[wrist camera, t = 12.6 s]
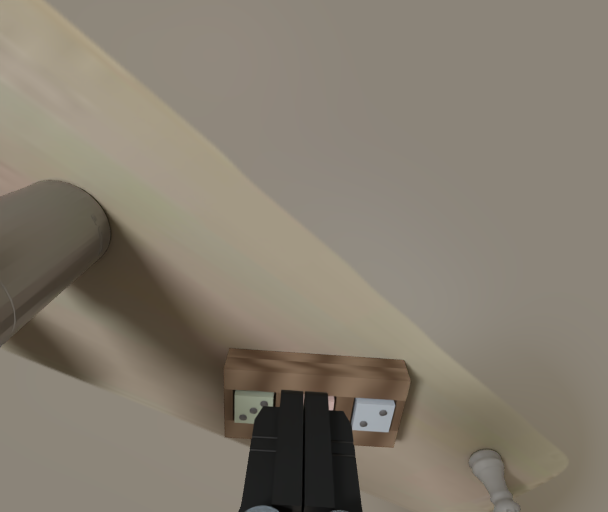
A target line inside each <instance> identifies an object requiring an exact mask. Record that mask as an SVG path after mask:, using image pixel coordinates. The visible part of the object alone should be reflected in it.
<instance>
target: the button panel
mask: <svg viewBox="0 0 608 512" xmlns="http://www.w3.org/2000/svg"><path fill="white" fill-rule="evenodd" d="M410 383H411V380H410V377H409V374H408V371H407V368H406V365H405V362H404V360H395V359H380V358H365V357H350V356H336V355H321V354H306V353H291V352H277V351H262V350H247V349H232V348H229V352H228V355H227V359H226V362H225V366H224V418H225V437H229V438H245V439H252V433H253V426H254V424H249V423H235V391H236V390H246V391H261V392H274V406H273V407H280V398H281V390H296V391H303V394H305V391H313V392H327V393H328V396H334V408H333V410H335V411H344V413H345V415H346V416H347V418H348V420H349V422H350V423H351V413H352V407H353V402H354V398H368V399H384V400H394V403H395V408H394V412H393V416H392V420H391V424H390V428H389V432H374V431H358V430H352V432H353V441H354V442H353V444H354V445H358V446H374V447H390V448H393V447H394V444H395V440H396V436H397V432H398V429H399V425H400V421H401V417H402V413H403V410H404V406H405V402H406V398H407V395H408V391H409V387H410Z"/></svg>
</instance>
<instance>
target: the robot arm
mask: <svg viewBox="0 0 608 512" xmlns="http://www.w3.org/2000/svg"><path fill="white" fill-rule="evenodd" d="M110 237H111V236H110V226H109V222H108V219H107V217H106V215H105V213H104V211H103V209H102V208H101V207H100V205H99V204H98V203H97V202H96V201H95V200H94V199H93V198H92V197H91V196H90V195H89V194H88V193H86V192H85V191H83V190H82V189H80V188H78V187H76V186H74V185H72V184H70V183H66V182H62V181H55V180H46V181H40V182H37V183H35V184H32V185H30V186H27V187H25V188H22V189H20V190H17V191H15V192H11V193H8V194H6V195H3V196H1V197H0V347H1V346H2V345H3V344H4V343H5V342H6V341H7V340H8V339H9V338H11V337H12V336H13V335H14V334H15V333H16V332H17V331H18V330H20V329H21V328H22V327H23V326H24V325H25V324H26V323H27V322H29V321H30V320H31V319H32V318H33V317H34V316H35V315H36V314H38V313H39V312H40V311H41V310H42V309H43V308H44V307H45V306H46V305H48V304H49V303H50V302H51V301H52V300H53V299H54V298H55V297H57V296H58V295H59V294H60V293H61V292H62V291H63V290H64V289H66V288H67V287H68V286H69V285H70V284H71V283H72V282H73V281H75V280H76V279H77V278H78V277H79V276H80V275H81V274H82V273H84V272H85V271H86V270H87V269H88V268H89V267H90V266H91V265H92V264H94V263H95V262H96V261H97V260H98V259H99V258H100V257H101V256H102V255H103V254H104V253H105V252H106V250H107V248H108V246H109V242H110ZM353 442H354V441H353V432H352V425H351V423H350V422H349V420H348V418H347V416H346V415H345V413H344V411H335V410H329V403H328V393H327V392H313V391H305V395H304V404H303V391H296V390H281V398H280V407H271V406H263V407H262V409H261V410H260V412H259V413H258V415H257V416H256V418H255V420H254V426H253V433H252V439H251V446H250V452H249V459H248V465H247V472H246V478H245V485H244V491H243V497H242V503H241V507H240V509H239V512H362V507H361V498H360V490H359V481H358V473H357V465H356V458H355V449H354V444H353Z"/></svg>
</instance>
